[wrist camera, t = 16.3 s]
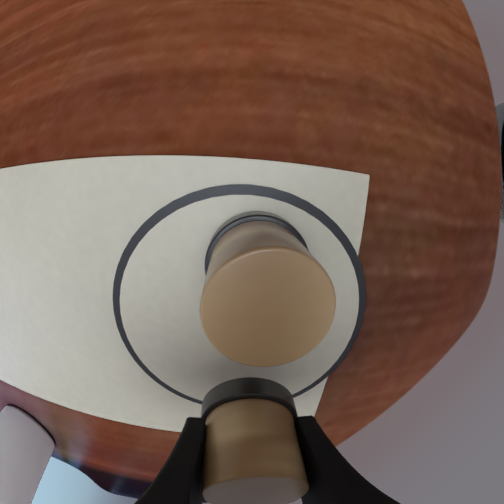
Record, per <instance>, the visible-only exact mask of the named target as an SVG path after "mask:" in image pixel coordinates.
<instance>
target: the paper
mask: <svg viewBox="0 0 504 504" xmlns="http://www.w3.org/2000/svg"><path fill="white" fill-rule="evenodd" d="M369 178H370V175H368V174H362V173H357V172H351V171H345V170H339V169H333V168H326V167H319V166H312V165H304V164H296V163H288V162H279V161H269V160H258V159H246V158H232V157H214V156H187V155H135V156H108V157H92V158H79V159H67V160H58V161H49V162H41V163H33V164H26V165H20V166H13V167H8V168H2V169H0V380H2V381H4V382H6V383H8V384H10V385H12V386H15V387H17V388H19V389H21V390H23V391H26V392H28V393H30V394H33V395H35V396H38V397H40V398H43V399H45V400H48V401H51V402H53V403H56V404H59V405H62V406H65V407H68V408H71V409H74V410H77V411H80V412H84V413H87V414H91V415H94V416H98V417H102V418H106V419H110V420H114V421H118V422H123V423H127V424H132V425H137V426H143V427H148V428H154V429H161V430H168V431H176V432H182V430H183V427H184V424H185V421H186V418H188V417H199V418H201V409H202V402H203V399H204V397H205V396H206V394H207V393H208V392H209V391H210V390H211V389H212V388H214V387H215V386H217V385H219V384H221V383H223V382H225V381H228V380H232V379H237V378H244V377H257V378H265V379H269V380H272V381H275V382H277V383H279V384H281V385H283V386H284V387H285V388H287V389H288V390H289V392H290V393H291V394H292V396H293V399H294V403H295V407H296V411H297V415H298V417H300V416H310V415H312V416H313V417H314V415H315V413H316V410H317V407H318V404H319V401H320V399H321V396H322V393H323V390H324V387H325V384H326V381H327V378H328V376H329V375H330V374H331V373H332V372H333V371H334V370H335V369H336V368H337V367H338V366H339V364H340V363H341V362H342V361H343V360H344V358H345V357H346V355H347V354H348V352H349V351H350V350H351V348H352V346H353V344H354V342H355V340H356V338H357V336H358V333H359V331H360V328H361V325H362V321H363V317H364V312H365V303H366V288H365V278H364V274H363V270H362V266H361V263H360V260H359V258H358V254H359V248H360V243H361V237H362V230H363V224H364V217H365V210H366V203H367V195H368V187H369ZM251 211H264V212H269V213H273V214H275V215H278V216H280V217H282V218H283V219H285V220H286V221H288V222H289V223H290V224H291V225H292V226H293V227H294V228H295V229H296V230H297V231H298V232H299V233H300V234H301V236H302V237H303V239H304V240H305V242H306V244H307V247H308V250H309V252H310V253H311V254H312V256H313V257H314V258H315V259H316V260H317V261H318V262H319V263H320V265H321V266H322V267H323V268H324V269H325V270H326V272H327V274H328V275H329V277H330V279H331V281H332V283H333V286H334V290H335V295H336V309H335V315H334V318H333V322H332V324H331V326H330V329H329V331H328V332H327V334H326V335H325V337H324V338H323V339H322V341H321V342H320V343H319V344H318V345H317V346H316V347H315V348H314V349H313V350H311V351H310V352H309V353H307V354H306V355H304V356H303V357H301V358H299V359H297V360H295V361H292V362H290V363H287V364H283V365H279V366H273V367H254V366H248V365H244V364H241V363H238V362H236V361H233V360H231V359H229V358H228V357H226V356H224V355H223V354H222V353H220V352H219V351H218V350H217V349H216V348H215V347H214V346H213V345H212V343H211V342H210V341H209V340H208V338H207V336H206V334H205V333H204V330H203V328H202V325H201V320H200V312H199V308H200V300H201V295H202V291H203V287H204V283H205V279H206V275H205V266H204V264H205V256H206V252H207V249H208V246H209V243H210V241H211V238H212V237H213V235H214V233H215V232H216V231H217V229H218V228H219V227H220V226H221V225H222V224H223V223H225V222H226V221H227V220H229V219H230V218H232V217H234V216H236V215H238V214H241V213H245V212H251Z"/></svg>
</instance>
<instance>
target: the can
mask: <svg viewBox="0 0 504 504" xmlns="http://www.w3.org/2000/svg"><path fill="white" fill-rule="evenodd" d="M54 448H55V445H54V441H53V439H52V437H51V436H50V434H49V433H48V432H47V431H46V430H45V428H44V427H43V426H42V425H41V424H39V423H38V422H37V421H36V420H35V419H34V418H32V417H31V416H30V415H29V414H27V413H26V412H24V411H23V410H21V409H19V408H17V407H15V406H5V407H4V408H3V410H2V411H1V412H0V504H31V503H32V500H33V498H34V495H35V493H36V490H37V488H38V485H39V483H40V480H41V478H42V475H43V473H44V471H45V468H46V466H47V464H48V462H49V459H50V457H51V455H52V453H53V450H54Z"/></svg>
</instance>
